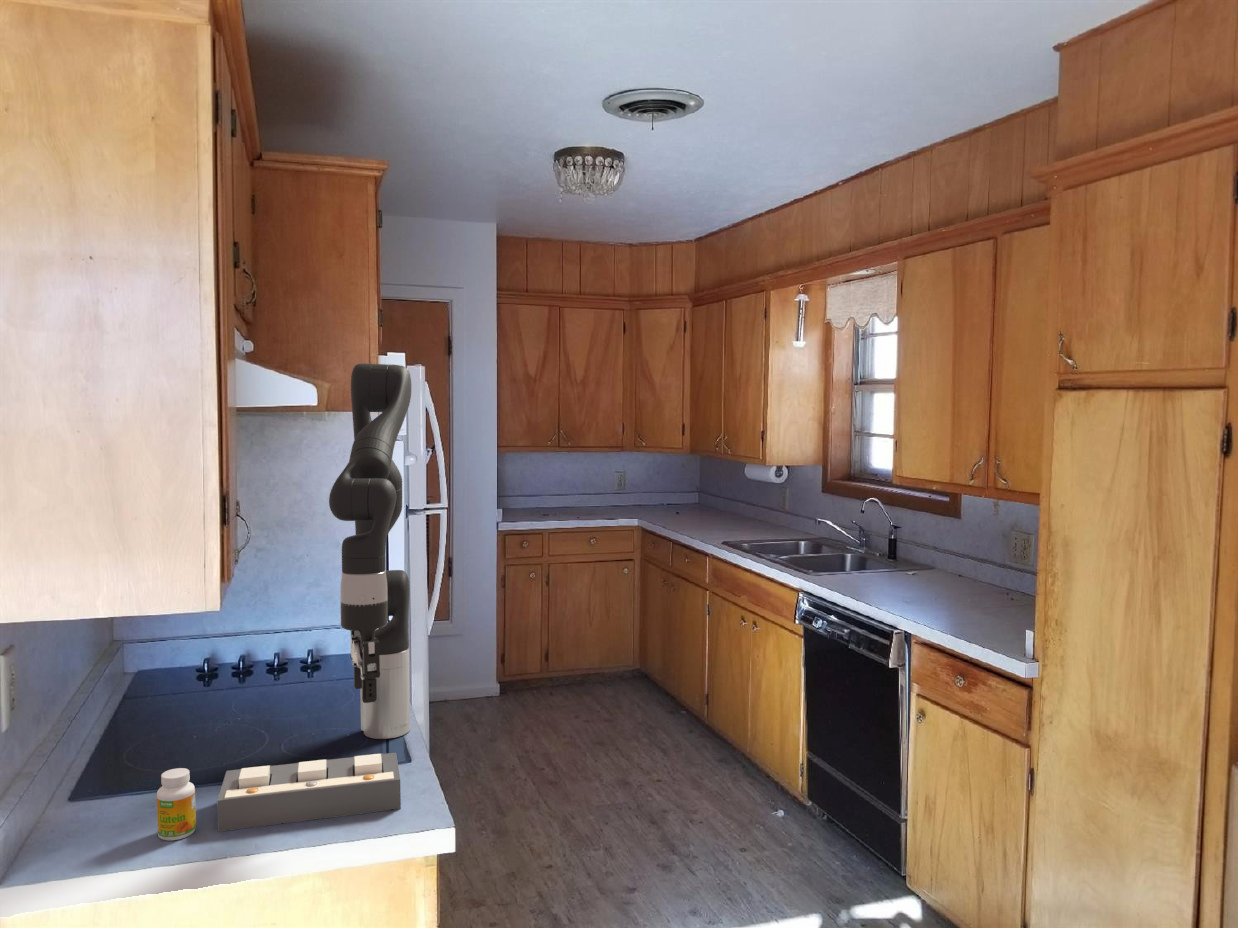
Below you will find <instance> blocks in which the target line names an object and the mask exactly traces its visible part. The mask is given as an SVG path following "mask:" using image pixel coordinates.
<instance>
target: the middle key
mask: <svg viewBox="0 0 1238 928" xmlns="http://www.w3.org/2000/svg"><path fill="white" fill-rule="evenodd" d="M326 760H327V759H317V760H309V761H308V760H307V761H299V762H298V763H299V766H298V782H305V781H314V780H323V779H326V778H327V769H326Z"/></svg>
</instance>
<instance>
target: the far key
mask: <svg viewBox="0 0 1238 928" xmlns="http://www.w3.org/2000/svg"><path fill="white" fill-rule="evenodd" d="M381 754H382V753H373V754H363V755H354V756H353V757H355V776H358V775H367V774H376V773H382V759H381Z"/></svg>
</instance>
